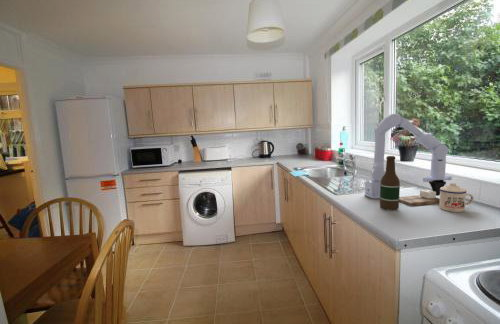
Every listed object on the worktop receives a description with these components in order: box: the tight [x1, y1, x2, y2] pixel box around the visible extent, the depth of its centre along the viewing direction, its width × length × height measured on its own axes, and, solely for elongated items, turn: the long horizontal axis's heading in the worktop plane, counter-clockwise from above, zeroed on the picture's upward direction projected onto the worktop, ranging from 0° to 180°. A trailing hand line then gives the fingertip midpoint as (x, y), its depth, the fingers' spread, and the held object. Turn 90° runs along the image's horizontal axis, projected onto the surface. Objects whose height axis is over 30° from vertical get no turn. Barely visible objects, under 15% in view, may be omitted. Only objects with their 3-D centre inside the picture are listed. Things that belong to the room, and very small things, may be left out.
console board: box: [399, 194, 440, 207], centre depth 121 cm, size 18×10×2 cm, turn 99°
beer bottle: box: [379, 155, 401, 211], centre depth 112 cm, size 8×8×24 cm
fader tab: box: [419, 189, 437, 199], centre depth 122 cm, size 4×5×3 cm
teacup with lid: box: [438, 182, 475, 213], centre depth 107 cm, size 12×9×12 cm
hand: (436, 195), depth 123 cm, fingers closed
